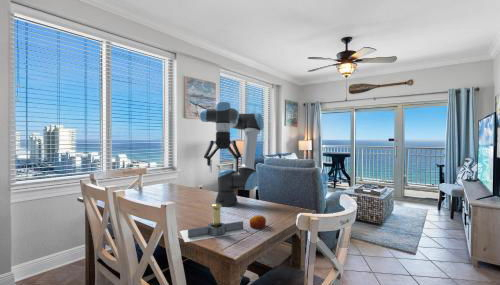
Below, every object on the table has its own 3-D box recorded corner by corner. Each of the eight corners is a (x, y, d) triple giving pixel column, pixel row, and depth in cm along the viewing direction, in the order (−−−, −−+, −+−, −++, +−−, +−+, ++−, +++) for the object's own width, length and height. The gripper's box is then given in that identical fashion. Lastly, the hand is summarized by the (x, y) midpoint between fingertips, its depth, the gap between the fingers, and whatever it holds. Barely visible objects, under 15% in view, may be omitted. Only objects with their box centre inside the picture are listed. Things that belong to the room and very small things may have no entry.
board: (179, 233, 119) (179, 230, 119) (235, 225, 131) (235, 222, 130) (184, 245, 106) (184, 242, 106) (246, 234, 118) (246, 232, 118)
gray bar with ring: (186, 234, 115) (186, 226, 115) (239, 226, 125) (239, 219, 125) (189, 240, 107) (189, 232, 107) (246, 231, 118) (246, 224, 118)
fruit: (255, 231, 118) (251, 214, 122) (249, 235, 124) (246, 218, 128) (270, 229, 121) (267, 212, 125) (264, 232, 128) (260, 216, 131)
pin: (210, 232, 118) (210, 204, 117) (219, 230, 119) (219, 203, 119) (213, 235, 114) (213, 206, 113) (222, 233, 115) (222, 205, 115)
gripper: (201, 130, 127) (201, 173, 128) (247, 131, 137) (247, 171, 138) (198, 131, 134) (198, 171, 134) (241, 131, 144) (241, 169, 145)
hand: (222, 171), depth 136 cm, fingers open, 13 cm apart
